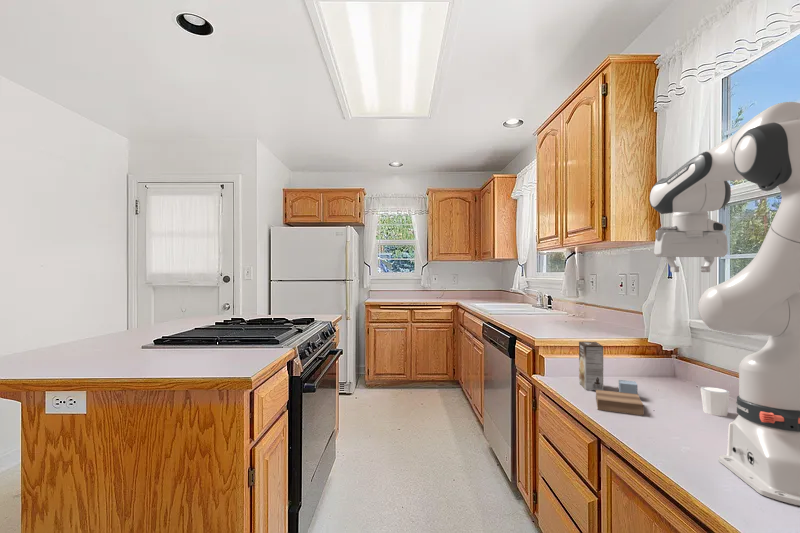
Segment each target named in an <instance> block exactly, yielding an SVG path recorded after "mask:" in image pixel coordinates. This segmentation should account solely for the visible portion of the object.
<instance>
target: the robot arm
mask: <svg viewBox="0 0 800 533" xmlns="http://www.w3.org/2000/svg"><path fill="white" fill-rule="evenodd" d="M739 180H740V181H741V180H747V182H751V183H752V184H756V185H757V186H758V188H759V190H761V191H764V192H769V191H773V190H774V189H776V188H778V189H779V190H780V194H781V200H780V204H779V207H778V208H777V211H776V213H775V215H774V217H773V219H772V221H771V224H770V226H769V229H768V231H767V233H766V235H765V237H764V238H763V241H762V243H761V246H760V248H759V249H758V251H757V253H756V255H755V256H754V258H752V260H751V261H750V262H749V263H748V264H747V265H746V266H745V267H744V268H742V269H741V270H740V271H739V272H737V273H736V274H734V276H732V277H730V278H729V279H727V280H725V281H723V282H720V283H718V284H716V285H713V286H711V287H709V288H706V290H705V291H704V292H703V293H702V294H701V295H700V298H699V300H698V304H697V307H698V314H699V316H700V319H701V320H702V322H703V323H704V324H705V325H706V326H707V328H709V329H711V330H713V331H717V332H723V333H727V334H733V335H738V336H739V335H740V336H741V335H742V336H760V337H762V336H764V337H768V338H767V342H766V343H765V345H763V347H762V348H761V349H759V350H757V351H755V352H753V353H749V354H747V355H745V356H744V357H743V358H742V359H741V361H740V362H739V364H738V387H739V388H738V394H739V395H737V396H736V402H735V406H736V413H737V414H738V415H737V416H736V417H735V419H734V420H733V421H731V422H730V423H729V424H728V430H727V447H726V448H727V450H726V454H720V455H719V456H718V462H719V463H721V464H722V465H723V466H725V467H726V468H727V469H728V470H729V471H731V473H733V474H734V475H736V476H737V477H738V478H739V479H741V480H742V481H743V482H744V483H746V484H747V485H748V486H749V487H751V489H753V490H754V491H756V492H757V493H759V495H762V496H764V497H767V498H770V499H772V500H776V501H779V502H784V503H786V504H791V505H795V506H800V102H797V101H796V102H795V101H784V102H780V103H776V104H773V105H771V106H769V107H767V108H766V109H764V110H763V111H761V112H759V113H758V114H757V115H755V116H753V117H752V118H751V119H750V120H749V121H747V122H746V123H744V125H742V126H741V127H740V128H739V129H738V130H736V132H735V133H734V134H732V135H731V136H730V137H728V138H726V139H725V140H724V141H722V142H720V143H718V144H717V145H715V146H713V147H711V148H710V149H708V150H706V151H703V152H702V153H699V154H698V155H696V156H693V157H692V158H691V159H689V160H688V161H687V162H686V163H684V164H683V165H681V166H680V167H679V168H678V169H677V170H675V171H674V172H672V173H671V174H670V175H669V176H666V177H665V178H663V177H662V178H661V179H659V180H658V181H657V182H655V184H654V185H653V186H652V187H651V190H650V193H649V204H650V206H651V208H652V209H654V210H655V211H656V212H658V213H659V214H661V215H666V214H672V217H671V218H672V220H671V222H672V223H671V224H672V225H671V226H660V227H659V228H658V229H656V230H655V242H654V249H653V254H654V255H655V256H656V257H657V258H661V257H662V258H664V257H665V258H666V262H667V264H668V265H669V267H670V268H669V270H670V273H679V272H680V266H677V264H676V262H675V261H676V260H677V258H704V259H703V261H704V265H703V266H700V272H701V273H711V267H712V265H713V263H714V262H715V258H724V257H726V255H727V254H728V246H729V245H728V237H727V234H726V233H725V232H726V230H727V225H726V224H724V223H722V222H720V221H715V220H713V219H711V218H709V216H710V215H709V212H713V211H718V210H721V209H723V208H724V207H726V205H727V204H728V203H729V202H730V200H731V198H732V195H731V194H732V193H731V192H732V191H731V190H732V188H731V184H730V183H729V182H728V181H739Z"/></svg>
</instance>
